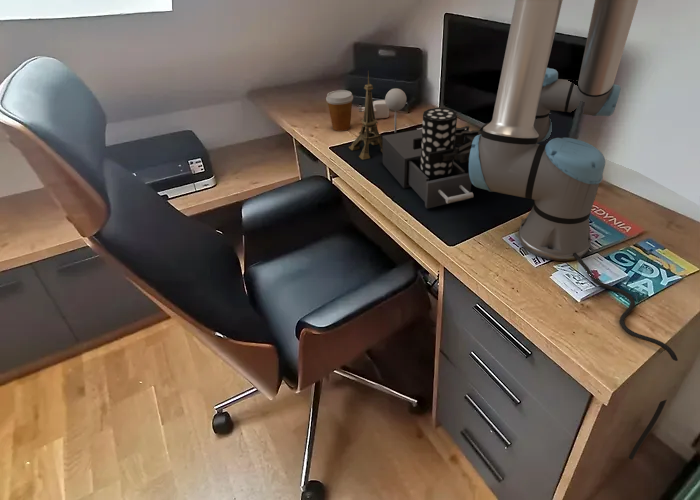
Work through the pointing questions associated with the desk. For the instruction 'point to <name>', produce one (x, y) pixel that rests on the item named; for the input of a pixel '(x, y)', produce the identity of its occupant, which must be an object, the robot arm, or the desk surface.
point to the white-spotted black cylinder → (438, 140)
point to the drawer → (439, 185)
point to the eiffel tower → (368, 122)
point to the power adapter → (379, 109)
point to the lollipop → (395, 101)
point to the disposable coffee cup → (340, 108)
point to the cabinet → (400, 153)
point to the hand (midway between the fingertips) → (421, 151)
